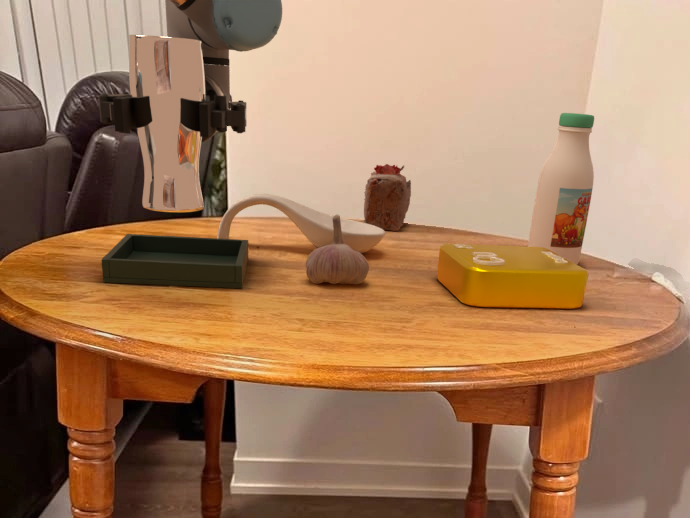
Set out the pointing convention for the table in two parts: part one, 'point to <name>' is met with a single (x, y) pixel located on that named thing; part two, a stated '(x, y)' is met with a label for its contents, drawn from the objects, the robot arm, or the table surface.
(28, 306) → the table surface
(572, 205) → the milk bottle
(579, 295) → the element tile
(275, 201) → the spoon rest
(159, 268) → the serving tray
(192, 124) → the beer glass
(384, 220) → the food item
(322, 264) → the garlic bulb
